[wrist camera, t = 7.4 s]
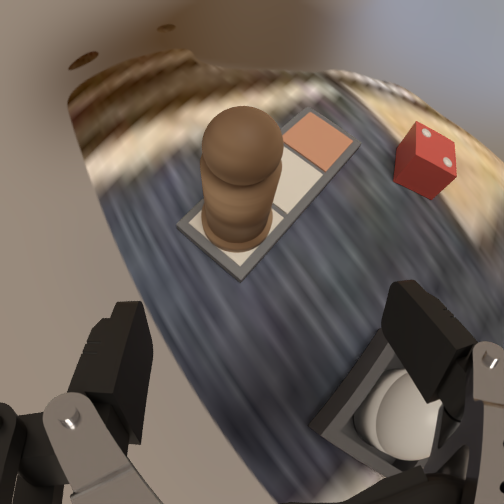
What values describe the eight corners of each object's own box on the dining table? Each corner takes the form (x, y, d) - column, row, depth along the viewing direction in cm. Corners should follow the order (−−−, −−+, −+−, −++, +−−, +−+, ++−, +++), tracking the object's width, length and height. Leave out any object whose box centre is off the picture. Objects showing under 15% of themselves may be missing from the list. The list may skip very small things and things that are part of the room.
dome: (386, 352, 23) (441, 346, 16) (436, 394, 22) (494, 397, 15) (336, 422, 21) (380, 444, 14) (393, 460, 20) (443, 484, 13)
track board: (306, 112, 32) (308, 104, 30) (358, 148, 30) (362, 141, 29) (177, 229, 26) (175, 223, 25) (240, 283, 25) (241, 279, 24)
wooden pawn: (233, 178, 27) (240, 70, 15) (284, 217, 26) (323, 120, 15) (187, 222, 25) (163, 122, 14) (240, 267, 24) (252, 186, 13)
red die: (396, 148, 31) (416, 120, 26) (432, 166, 31) (454, 141, 26) (393, 181, 29) (416, 153, 25) (431, 200, 29) (457, 176, 24)
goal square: (309, 112, 30) (310, 111, 30) (352, 142, 29) (353, 141, 29) (278, 139, 29) (279, 138, 28) (325, 172, 28) (325, 171, 28)
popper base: (379, 328, 24) (399, 323, 21) (447, 387, 23) (471, 388, 19) (307, 425, 21) (320, 435, 18) (388, 477, 20) (407, 488, 16)
